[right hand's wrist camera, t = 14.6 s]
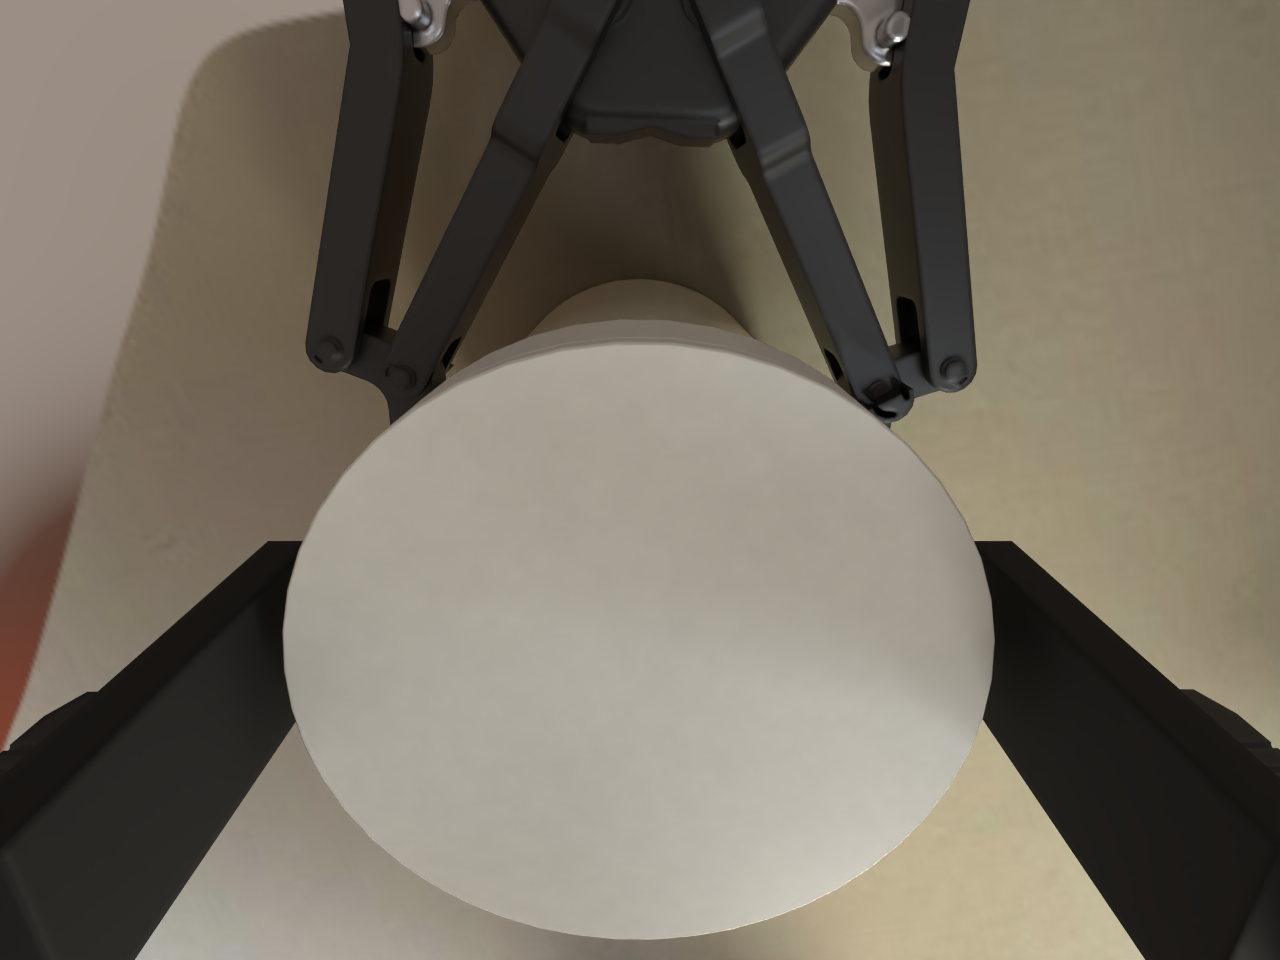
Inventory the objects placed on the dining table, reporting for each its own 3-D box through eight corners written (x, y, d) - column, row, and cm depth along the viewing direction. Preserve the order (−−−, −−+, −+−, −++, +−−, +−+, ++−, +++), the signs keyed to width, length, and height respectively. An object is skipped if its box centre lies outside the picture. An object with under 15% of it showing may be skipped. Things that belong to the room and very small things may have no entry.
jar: (681, 221, 24) (753, 228, 9) (817, 452, 26) (1041, 749, 12) (453, 376, 25) (195, 598, 11) (603, 576, 28) (564, 966, 14)
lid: (749, 172, 10) (777, 160, 8) (1031, 692, 13) (1100, 776, 11) (209, 540, 12) (124, 604, 10) (566, 912, 15) (555, 1016, 13)
